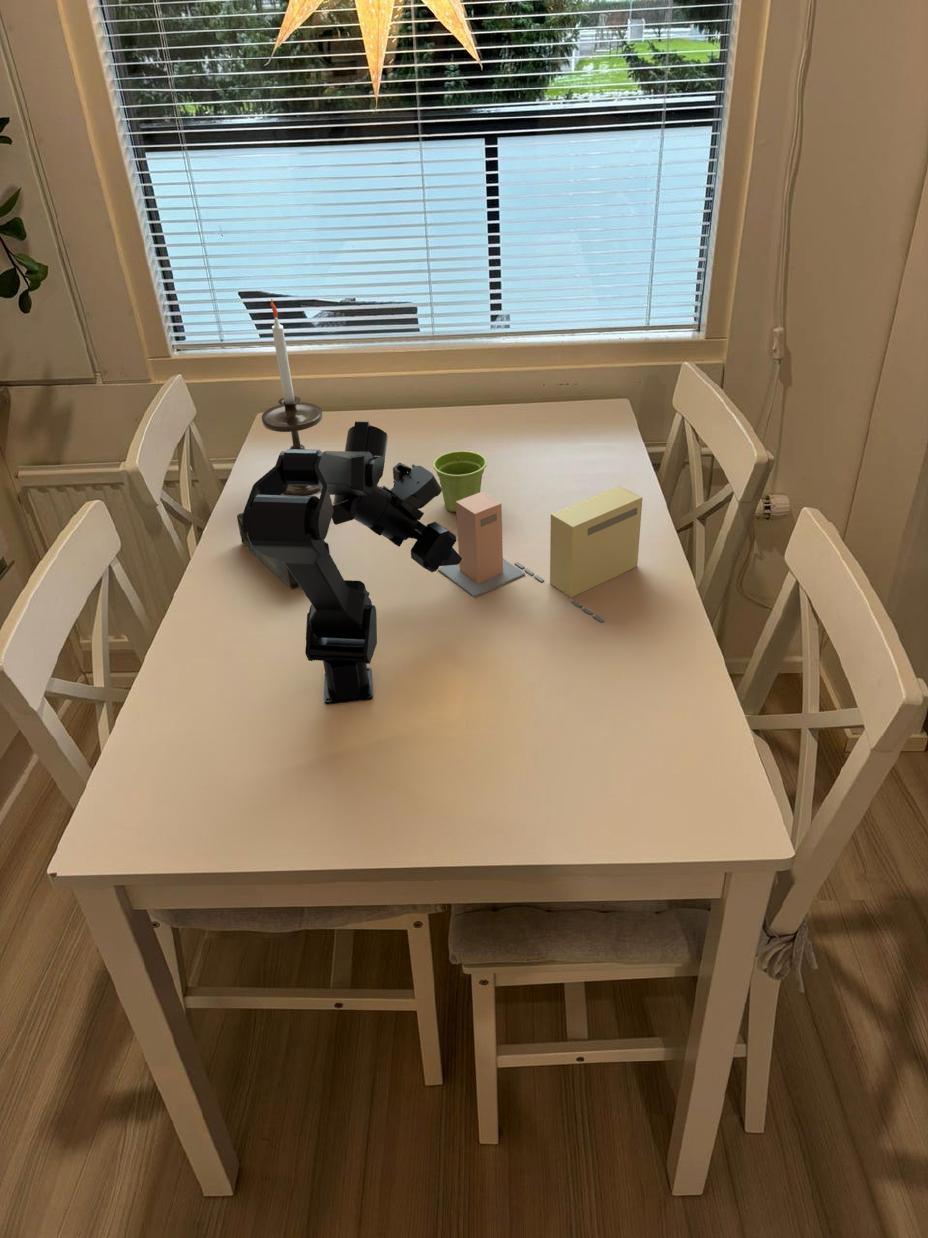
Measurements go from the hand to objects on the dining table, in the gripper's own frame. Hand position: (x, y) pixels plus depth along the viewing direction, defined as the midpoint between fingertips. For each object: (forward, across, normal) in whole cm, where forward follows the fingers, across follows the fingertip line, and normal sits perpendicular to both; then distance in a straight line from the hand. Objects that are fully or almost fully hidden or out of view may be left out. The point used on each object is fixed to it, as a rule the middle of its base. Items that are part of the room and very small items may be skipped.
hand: (442, 548), depth 141 cm
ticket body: (+20, -11, -10) cm, 25 cm away
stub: (+10, 0, 0) cm, 10 cm away
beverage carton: (-6, +25, +17) cm, 30 cm away
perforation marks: (+15, -11, -4) cm, 19 cm away
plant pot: (+18, +21, -7) cm, 28 cm away
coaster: (+10, +1, 0) cm, 10 cm away
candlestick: (+4, +47, +6) cm, 47 cm away
